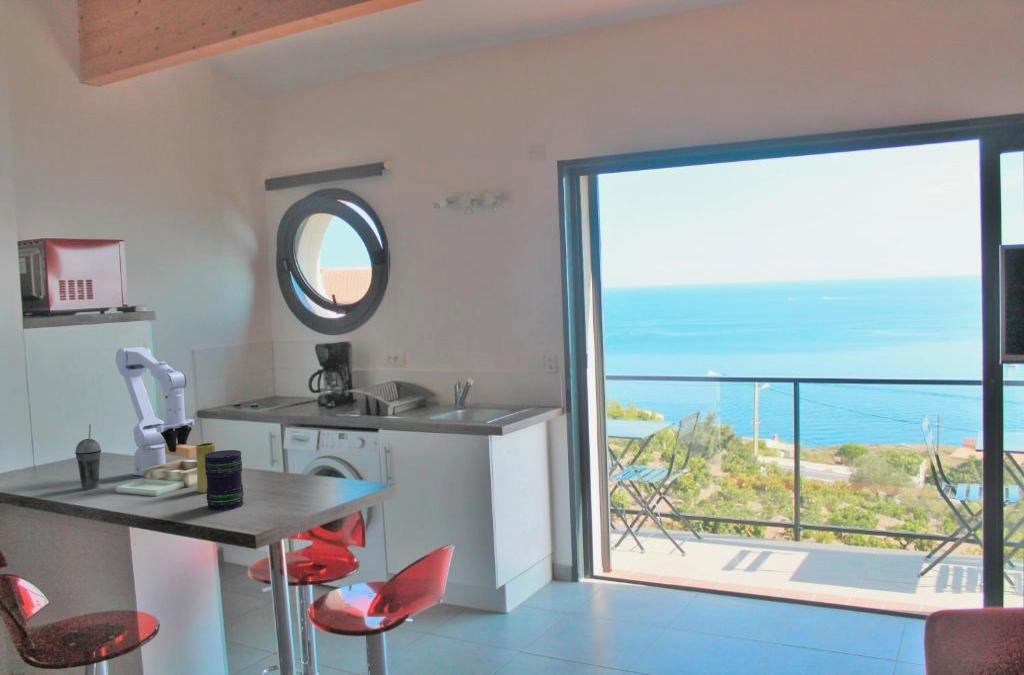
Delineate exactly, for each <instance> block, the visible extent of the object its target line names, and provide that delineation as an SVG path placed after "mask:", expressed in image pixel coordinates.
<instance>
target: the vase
mask: <svg viewBox="0 0 1024 675" xmlns="http://www.w3.org/2000/svg"><path fill="white" fill-rule="evenodd" d="M195 446H196V456H195V457H196V460H197V485H196V492H197V493H201V494H207V490H206V489H207V476H206V473H205V472H206V471H205V454H207V453H211V452H216V451H215V443H213V442H201V443H197V444H196V445H195Z"/></svg>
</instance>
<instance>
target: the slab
mask: <svg viewBox="0 0 1024 675" xmlns="http://www.w3.org/2000/svg"><path fill="white" fill-rule="evenodd" d="M165 455H169V456H176V457H182V458H185V459H190V458H191V459H192V458H194V457H197V456H196V445H189V444H186V445H184V444H178V442H176V452H169V449H168V446H167V444H166V445H165Z"/></svg>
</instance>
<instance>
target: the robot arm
mask: <svg viewBox="0 0 1024 675" xmlns="http://www.w3.org/2000/svg"><path fill="white" fill-rule="evenodd" d="M114 360H115V364H116V366H117V371H118V372H119V374H120V375H121V376H122V377H123V378H124V379H123V380H124V382H125V384H126V388H127V390H128V394H129V396H130V397H129V398H130V399H131V403H132V405H133V408H134V411H135V414H136V418H137V421H138V423H137V424H136V425H135V426H134V428H133V430H132V432H133V435H134V438H133V439H134V444H135V445H136V447H137V449H136V450H135V452H134V453H133V459H134V460H133V461H134V462H133V463H134V473H133V474H132V475H133V476H142V477H143V469H147V468H150V467H154V466H158V465H161V464H165V463H167V461H166V454H165V445H166V444H167V446H168V449H169V452H176V443H178V444H184V445H187V441H188V438H189V436H190V433H191V431H192V430H193V429H192V426H194V425H196V423H195V418H188V419H186V413H185V412H186V411H185V392H184V391H185V390H184V389H185V388H186V387H187V385H188V378H187V374H186V373H185V372H184V371H183V370H175V369H174V368H173V367H171V366H170V365H168V364H167V362H166V361H158V360H157V359H156V358H155V357H154V356H153V355H152V350H151V349H150V348H149V347H148V346H147V345H146V346H145V345H144V346H138V347H135V346H134V347H126V348H124V347H120V348H118V349H117V350H116V352H115V359H114ZM147 370H149V371H150V372H149V373H150V375H151V376H152V377H153V378H154V379H155V380H156V381H158V382H159V383H160V388H161V390H162V394H163V396H164V405H165V406H164V407H165V422H164V420H162V419H160V418H158V417H156V416H155V412H154V410H153V408H152V407H153V406H152V404H151V400H150V398H149V395H148V393H147V389H146V387H145V384H144V381H143V379H142V375H143V374H145V373H146V372H147Z"/></svg>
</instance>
